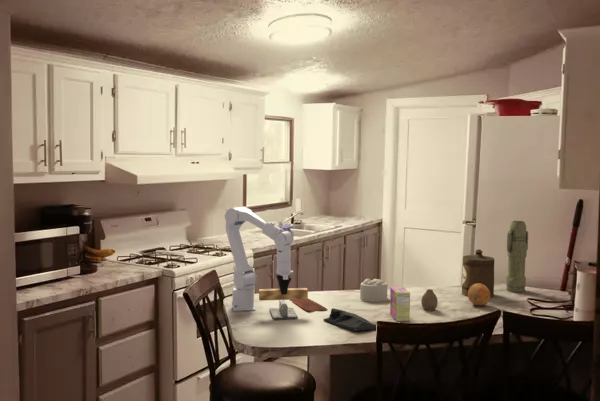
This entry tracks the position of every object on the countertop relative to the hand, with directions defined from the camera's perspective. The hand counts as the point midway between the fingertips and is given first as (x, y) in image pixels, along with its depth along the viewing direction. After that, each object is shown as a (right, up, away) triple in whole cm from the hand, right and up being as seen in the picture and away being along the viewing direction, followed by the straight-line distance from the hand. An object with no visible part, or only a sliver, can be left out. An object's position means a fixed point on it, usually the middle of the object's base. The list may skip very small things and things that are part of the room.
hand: (283, 293), depth 230 cm
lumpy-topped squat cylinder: (+41, -8, +30) cm, 52 cm away
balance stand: (0, -9, +1) cm, 9 cm away
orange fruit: (+87, -9, +19) cm, 90 cm away
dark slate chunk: (+27, -11, -11) cm, 31 cm away
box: (+48, -10, -1) cm, 49 cm away
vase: (+63, -9, +11) cm, 65 cm away
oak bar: (0, -2, 0) cm, 2 cm away
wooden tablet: (+10, -9, +19) cm, 23 cm away
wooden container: (+93, -8, +39) cm, 101 cm away
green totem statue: (+115, -7, +48) cm, 125 cm away
